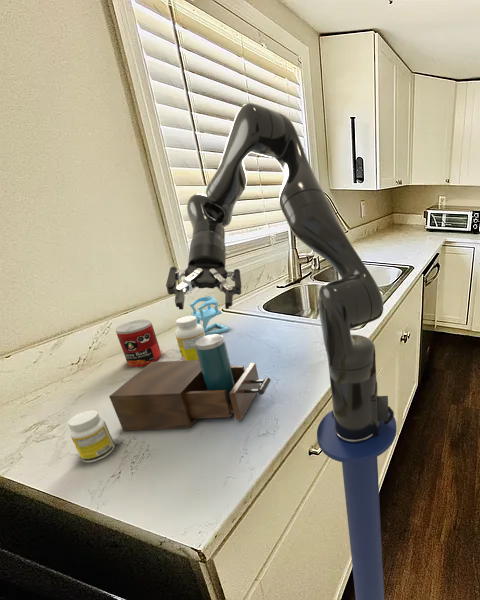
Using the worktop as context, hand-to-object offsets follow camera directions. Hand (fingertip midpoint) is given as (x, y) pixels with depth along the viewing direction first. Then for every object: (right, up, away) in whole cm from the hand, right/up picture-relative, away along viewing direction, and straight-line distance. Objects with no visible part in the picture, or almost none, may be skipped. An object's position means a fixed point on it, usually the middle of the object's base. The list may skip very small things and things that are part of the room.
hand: (204, 307), depth 69 cm
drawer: (+4, -22, +4) cm, 22 cm away
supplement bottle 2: (-16, -16, +23) cm, 32 cm away
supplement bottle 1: (-15, -28, -8) cm, 32 cm away
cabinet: (-9, -23, +3) cm, 25 cm away
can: (+3, -21, +3) cm, 21 cm away
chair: (-22, -9, +39) cm, 46 cm away
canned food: (-31, -16, +23) cm, 41 cm away
